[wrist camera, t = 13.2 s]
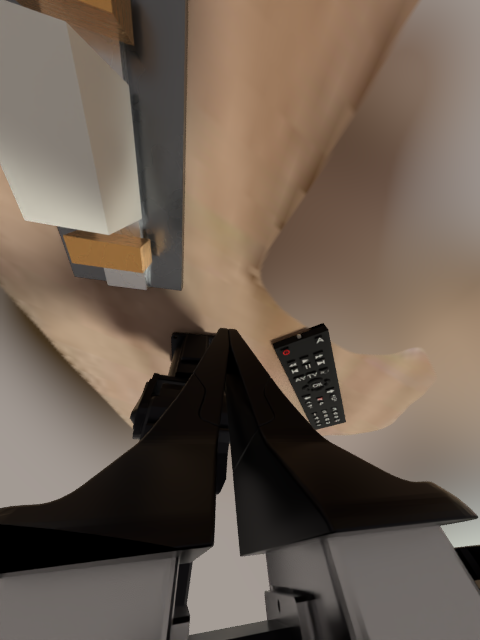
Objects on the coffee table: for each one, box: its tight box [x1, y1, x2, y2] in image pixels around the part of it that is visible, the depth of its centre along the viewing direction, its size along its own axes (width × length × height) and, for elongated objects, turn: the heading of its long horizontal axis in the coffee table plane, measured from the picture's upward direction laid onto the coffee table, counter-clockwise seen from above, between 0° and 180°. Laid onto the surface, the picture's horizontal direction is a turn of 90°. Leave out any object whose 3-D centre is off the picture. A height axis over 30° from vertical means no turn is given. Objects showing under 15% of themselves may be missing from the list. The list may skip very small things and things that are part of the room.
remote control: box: [273, 323, 346, 430], centre depth 35 cm, size 8×32×2 cm, turn 24°
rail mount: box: [6, 0, 188, 291], centre depth 12 cm, size 20×10×4 cm, turn 169°
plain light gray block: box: [0, 0, 142, 235], centre depth 10 cm, size 7×4×6 cm, turn 169°
